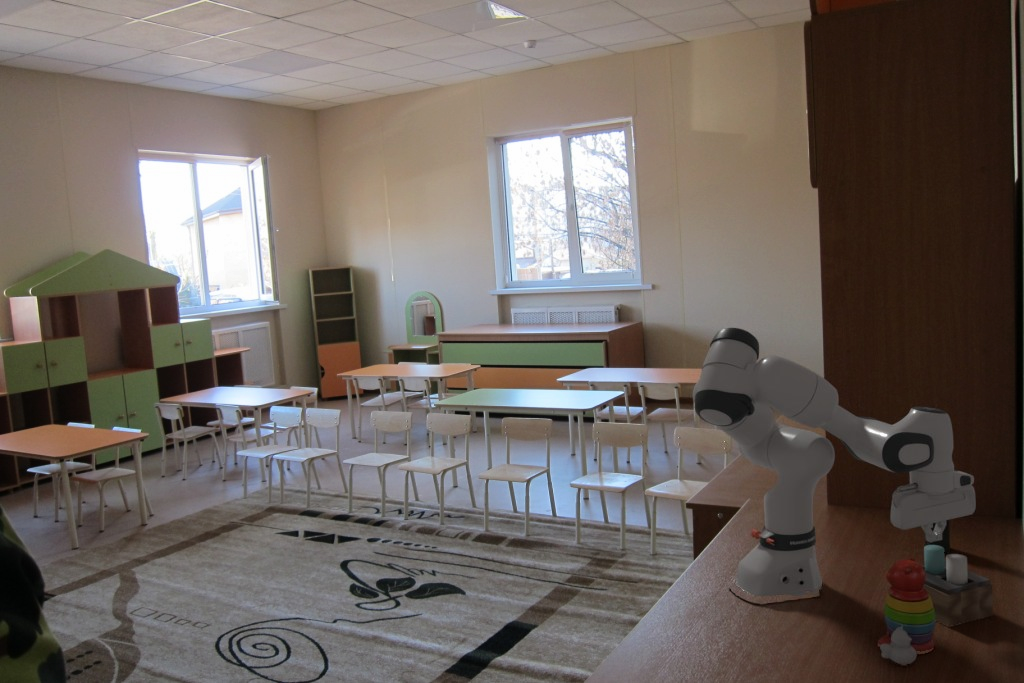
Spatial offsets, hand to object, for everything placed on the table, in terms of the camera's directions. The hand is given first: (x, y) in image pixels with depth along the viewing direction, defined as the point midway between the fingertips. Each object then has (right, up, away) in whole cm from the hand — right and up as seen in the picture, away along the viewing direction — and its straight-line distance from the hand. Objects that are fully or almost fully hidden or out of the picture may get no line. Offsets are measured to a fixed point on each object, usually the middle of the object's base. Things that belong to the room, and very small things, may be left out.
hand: (934, 540), depth 189 cm
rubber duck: (-17, -19, -21) cm, 34 cm away
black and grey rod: (+17, -10, +32) cm, 37 cm away
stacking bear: (-12, -18, -15) cm, 26 cm away
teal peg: (+1, -10, +1) cm, 10 cm away
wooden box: (+2, -15, -1) cm, 15 cm away
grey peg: (+3, -10, -5) cm, 12 cm away
